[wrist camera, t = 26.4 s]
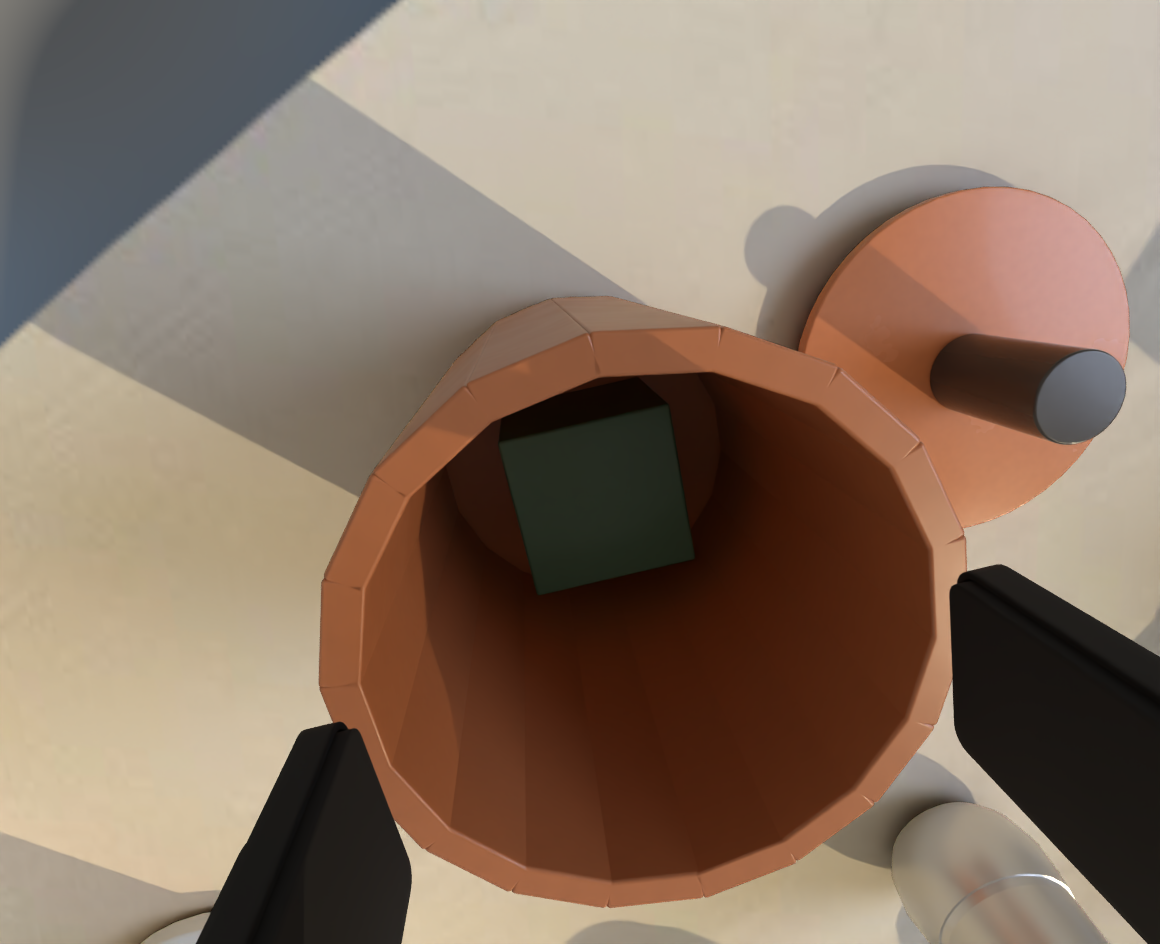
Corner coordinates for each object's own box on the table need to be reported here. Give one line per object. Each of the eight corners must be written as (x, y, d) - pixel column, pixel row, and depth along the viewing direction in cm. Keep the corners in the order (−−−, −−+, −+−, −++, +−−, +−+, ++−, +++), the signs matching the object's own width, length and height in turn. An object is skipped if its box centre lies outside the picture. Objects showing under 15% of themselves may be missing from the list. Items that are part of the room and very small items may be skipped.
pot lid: (803, 550, 26) (885, 631, 20) (767, 232, 22) (857, 218, 16) (1095, 482, 26) (1261, 543, 20) (1109, 156, 23) (1318, 115, 17)
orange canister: (475, 620, 26) (429, 966, 13) (389, 333, 22) (208, 417, 9) (750, 556, 26) (975, 833, 13) (709, 262, 22) (961, 248, 10)
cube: (534, 533, 24) (537, 597, 20) (501, 407, 23) (496, 442, 18) (662, 504, 24) (696, 560, 20) (638, 376, 23) (669, 403, 18)
